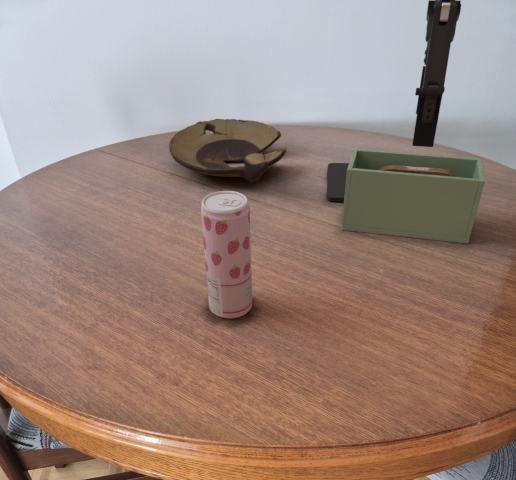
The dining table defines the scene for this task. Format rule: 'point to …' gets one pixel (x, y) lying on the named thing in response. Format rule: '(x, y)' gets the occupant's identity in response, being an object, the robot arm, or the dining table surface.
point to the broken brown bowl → (226, 148)
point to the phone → (336, 181)
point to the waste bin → (412, 196)
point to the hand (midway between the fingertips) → (423, 128)
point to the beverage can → (227, 253)
